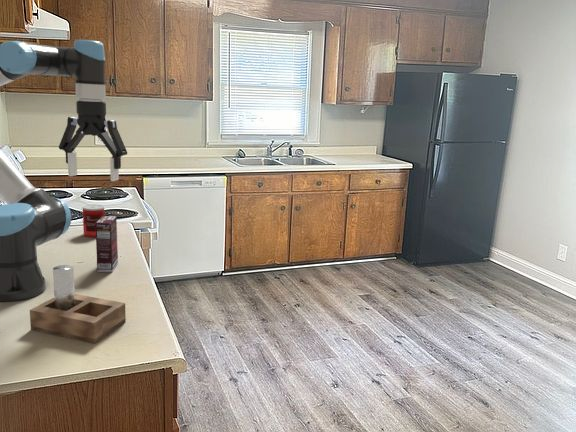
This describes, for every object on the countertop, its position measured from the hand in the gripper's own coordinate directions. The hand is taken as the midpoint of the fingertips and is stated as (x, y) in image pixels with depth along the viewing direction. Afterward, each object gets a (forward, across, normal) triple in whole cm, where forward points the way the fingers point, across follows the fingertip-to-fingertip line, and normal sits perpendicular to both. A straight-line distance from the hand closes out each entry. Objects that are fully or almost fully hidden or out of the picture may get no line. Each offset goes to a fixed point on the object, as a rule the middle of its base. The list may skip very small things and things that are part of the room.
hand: (93, 178), depth 146 cm
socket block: (+31, -14, +26) cm, 43 cm away
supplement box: (+31, +4, -11) cm, 33 cm away
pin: (+30, -10, +26) cm, 41 cm away
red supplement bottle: (+31, +30, -40) cm, 59 cm away
